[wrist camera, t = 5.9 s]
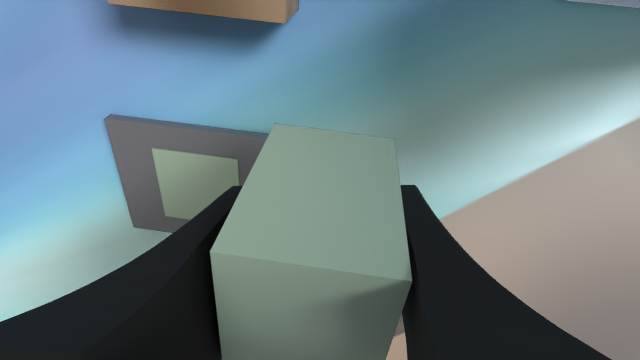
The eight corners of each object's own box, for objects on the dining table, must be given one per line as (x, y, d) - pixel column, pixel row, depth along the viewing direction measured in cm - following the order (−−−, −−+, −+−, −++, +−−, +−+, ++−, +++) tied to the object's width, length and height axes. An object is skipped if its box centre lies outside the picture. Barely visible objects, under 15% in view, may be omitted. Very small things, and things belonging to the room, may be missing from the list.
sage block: (394, 138, 12) (412, 280, 7) (373, 229, 14) (376, 386, 9) (274, 123, 12) (209, 251, 7) (273, 215, 14) (222, 361, 9)
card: (284, 135, 20) (281, 141, 20) (281, 241, 25) (279, 248, 24) (110, 114, 21) (103, 119, 20) (138, 221, 25) (132, 228, 25)
